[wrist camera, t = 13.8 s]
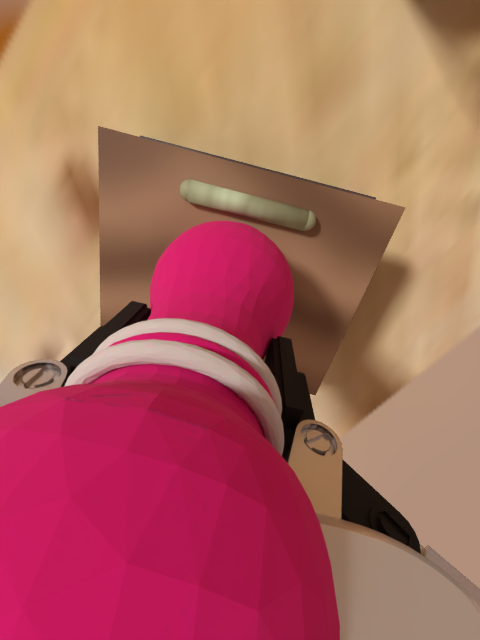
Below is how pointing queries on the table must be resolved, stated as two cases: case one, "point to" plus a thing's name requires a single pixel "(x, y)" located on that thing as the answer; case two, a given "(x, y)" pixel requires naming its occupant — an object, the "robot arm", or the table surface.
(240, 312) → the pepper mill
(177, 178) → the board
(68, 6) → the table surface
